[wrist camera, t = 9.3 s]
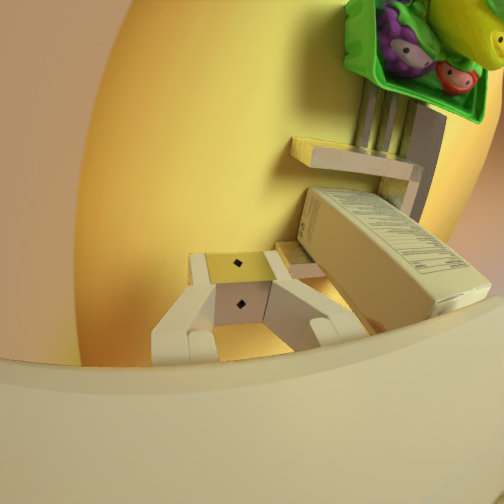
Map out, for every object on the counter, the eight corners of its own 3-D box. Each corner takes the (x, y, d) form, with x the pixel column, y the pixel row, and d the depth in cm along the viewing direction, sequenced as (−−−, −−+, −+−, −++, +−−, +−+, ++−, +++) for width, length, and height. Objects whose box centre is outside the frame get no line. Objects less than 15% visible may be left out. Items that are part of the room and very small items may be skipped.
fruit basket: (323, 83, 15) (477, 109, 6) (327, -29, 10) (458, -77, 1) (437, 111, 18) (549, 157, 8) (441, 22, 13) (553, 36, 4)
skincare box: (294, 239, 21) (386, 373, 11) (306, 183, 19) (433, 302, 9) (362, 239, 23) (458, 343, 13) (377, 191, 20) (495, 284, 10)
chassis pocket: (303, 60, 14) (326, 57, 11) (439, 109, 17) (465, 116, 15) (264, 301, 24) (275, 327, 21) (384, 286, 27) (400, 305, 25)
